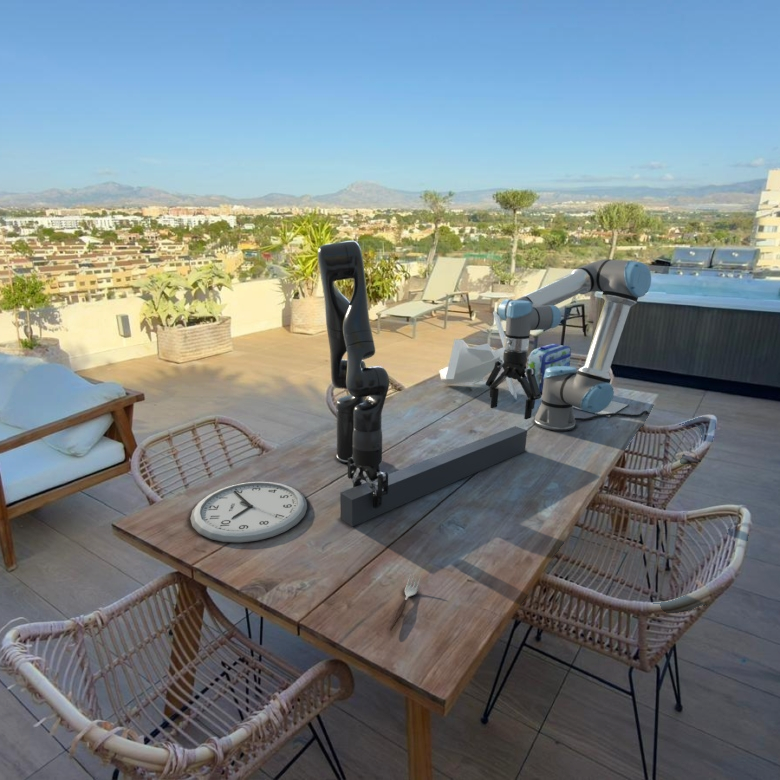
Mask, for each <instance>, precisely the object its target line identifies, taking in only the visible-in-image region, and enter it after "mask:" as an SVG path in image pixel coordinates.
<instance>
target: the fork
mask: <svg viewBox="0 0 780 780" xmlns="http://www.w3.org/2000/svg"><path fill="white" fill-rule="evenodd" d="M421 576H422V575H421V574H420V575H419V578H418V576H416V577H415V574H413V577H412V573H410V574H409V578H408V579H407V580H408V581H407V582H406V586H405V588H404V594H405V598H404V600H403V601H402V602H401V604H400V605H399V607H398V608H397V610H396V612H395V614H394V615H395V616H394V618H393V621H392V623H391V627H390V629H389V631H390V632H391V631H392V630H393V628H394V627H395V625H396V624H397V622H398V621H399V619H400V618H401V616H402V615H403V613H404V610H405V608H406V605H407V601H408V599H409V598H410V597H413V596H415V595H417V592H418V590H419V585H420V580H421ZM411 577H412V579H411ZM414 577H415V580H414ZM417 579H418V581H417ZM416 584H417V585H416Z"/></svg>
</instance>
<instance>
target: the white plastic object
mask: <svg viewBox="0 0 780 780" xmlns="http://www.w3.org/2000/svg"><path fill="white" fill-rule="evenodd" d="M492 315H493V319H494V321H495V324H496V325H495V326H496V328H497V332H498V335H499V338H500V342H501V345H502V347H500V348H498V349H496V350H495V349H493V348H492V347H491V346H490V344H489V343H488V342H487V343H483V344H479V345H473V346H469V345H468V343H466V342H465V340H464V339H463V338H460V339H458V338H454V340H453V344H452V349H451V353H450V357H449V362H448V366H446V367H444V368H442V369H440V370H439V371H438V372H439V376H440V381H442V383H443V384H444V385H445V386H449V385H458V384H467V383H468V384H469V383H473V384H477V383H480V382H482V381H484V378H485V377H486V376H487V375H490V374H491V372H492V371H493V369H494V366H495V362H496V361H500V360H502V362H504V361H503V355H504V350H505V348H504V344H505V331H504V328H503V325H502V321H501V318H500V317H499V314H498V312H497V311H496V310H495V311H492ZM502 370H503V371H504V369H503V368H502ZM521 378H522V377H521ZM505 380H506V383H507V386H508V390H509V393H510V394H511V395H512V397H513V398H514V399H515V400H517V392H516V391H517V390H516V388H515V385H514V381H513V378H508V377H506V378H505ZM521 389H522V391H523V393H524V395H525V396H526V397H527V395H526V393H525V391H524V389H523V388H522V387H521Z"/></svg>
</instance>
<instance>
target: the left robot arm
mask: <svg viewBox="0 0 780 780" xmlns="http://www.w3.org/2000/svg"><path fill="white" fill-rule="evenodd" d="M317 264H318V270H319V276H320V281H321V287H322V292H323V299H324V311H325V323H326V324H325V325H326V333H327V338H328V345H329V355H330V356H329V357H330V379H331V383H332V386H333V387H334V388H335V389H339V390H341V389H342V390H347V392H348V393H349V394H347V395H344V396H341V397H339V398H338V399H337V400H336V404H335V405H336V408H335V409H336V460H337V461H338V462H340V463H342V464H347V478H348V479H350V480H351V483H352V488H353V487H356V486H359V485H361V484H363V482H362V481H365V483H368V486H369V488H371V489H372V492H373V494H374V495H373V508H375V509H376V508H378V507H380V506H381V505H382V496H383V495H385V494H388V474H389V473H388V472H387V471H385V472H382V471H381V469H380V464H381V462H382V461H383V431H382V417H383V416H382V413H383V409H384V405H385V402H386V398H387V395H388V393H389V389H390V376H389V373H388V372H387V370H386V369H385V368H384V367H382V366H380V365H379V366H378V365H377V366H376V365H375V366H370V367H369V366H368V367H367V364H366V362H365V360H367V359H370V358H372V357H374V356H375V354H376V345H375V340H374V337H373V332H372V327H371V322H370V313H369V304H368V303H369V301H368V291H367V281H366V271H365V264H364V257H363V253H362V249H361V247H360V245H359V243H358V242H357V241H355V240H347V241H346V240H345V241H340V242H333V243H325V244H322V245H320V247H318V250H317ZM344 280H346V281H347V280H352V282H353V291H352V296H351V299H350V300H349V299H348V298H347V297H346V296H345V295H344V294H343V293H342V292H341V291H340V290H339V288H338V287H337V285H336V283H335V282H337V281H338V282H339V281H344ZM345 354H346V357H347V358H346V359H343V358H344V357H345ZM366 397H367V399H366ZM352 471H353V472H352ZM375 480H377V482H376V483H374V484H373V483H372V482H373V481H375ZM375 486H377V487H378V490H377V491H376V488H375ZM383 487H384V490H383V489H382V488H383Z"/></svg>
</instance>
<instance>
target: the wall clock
mask: <svg viewBox="0 0 780 780" xmlns="http://www.w3.org/2000/svg"><path fill="white" fill-rule="evenodd" d="M307 503H308V502H307V499H306V498H305V496H304V495H303V493H301V492H300V491H298V490H297V489H295V488H294V487H291V486H289V485H286V484H283V483H280V482H279V483H278V482H272V481H249V482H248V481H247V482H242V483H238V484H232V485H229V486H226V487H223V488H220V489H218V490H216V491H213V492H211V493H210V494H208V495H207V496H205V497H204V498H202V499H201V500H200V501H199V502H198V503H197V504H196V505H195V507H194V508H193V509H192V511H191V515H190V523H191V526H192V528H193V529H194V531H196V532H197V533H198V534H199V535H201V536H203V537H205V538H208V539H210V540H214V541H218V542H222V543H239V544H240V543H249V542H256V541H262V540H265V539H269V538H274V537H276V536H278V535H280V534H282V533H286V532H287V531H289V530H290V529H292V528H293V527H295V526H296V525H298V524H299V523H300V522H301V521H302V519H303V518H304V517H305V516H306V513H307V510H308V504H307Z"/></svg>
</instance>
